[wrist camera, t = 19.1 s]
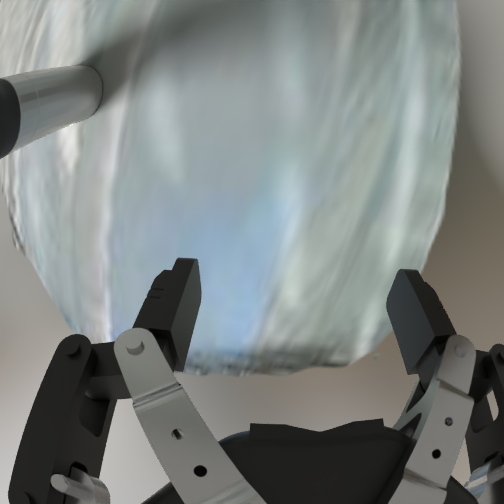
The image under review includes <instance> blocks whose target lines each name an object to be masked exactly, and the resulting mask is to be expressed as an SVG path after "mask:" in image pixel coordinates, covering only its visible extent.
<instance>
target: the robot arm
mask: <svg viewBox="0 0 504 504" xmlns="http://www.w3.org/2000/svg"><path fill="white" fill-rule="evenodd" d="M101 98H102V81H101V79H100V76H99V74H98V73H97V71H95V70H94V69H93V68H92V67H90V66H86V65H79V66H67V67H58V68H50V69H43V70H37V71H31V72H26V73H21V74H16V75H12V76H8V77H3V78H0V159H1V158H3V157H5V156H6V155H8V154H10V153H12V152H14V151H15V150H17V149H19V148H21V147H23V146H25V145H27V144H29V143H31V142H33V141H35V140H37V139H39V138H42V137H44V136H46V135H48V134H50V133H53V132H55V131H57V130H60V129H62V128H65V127H67V126H70V125H72V124H75V123H77V122H80V121H82V120H85V119H87V118H89V117H90V116H91V115H92V114H93V113H94V112H95V111H96V109H97V108H98V106H99V104H100V101H101ZM200 303H201V282H200V273H199V265H198V260H197V259H193V258H177V260H176V262H175V264H174V266H173V269H172V270H163V271H162V272H161V273H160V274H159V275H158V276H157V277H156V278H155V279H154V281H153V284H152V286H151V289H150V290H149V292H148V294H147V298H146V299H145V301H144V303H143V305H142V307H141V310H140V312H139V314H138V316H137V318H136V321H135V323H134V325H133V327H132V329H129V330H126V331H124V332H123V333H121V334H120V335H119V336H118V337H117V339H116V341H114V342H108V343H98V344H91V342H90V340H89V339H88V338H87V337H86V336H84V335H81V334H74V335H70V336H68V337H66V338H65V339H63V340H62V341H61V343H60V344H59V345H58V347H57V349H56V351H55V354H54V356H53V358H52V360H51V362H50V364H49V367H48V369H47V371H46V374H45V376H44V378H43V381H42V383H41V385H40V388H39V391H38V393H37V396H36V398H35V401H34V403H33V406H32V409H31V412H30V414H29V417H28V420H27V424H26V426H25V429H24V432H23V435H22V439H21V442H20V445H19V449H18V452H17V456H16V460H15V464H14V468H13V472H12V476H11V481H10V485H9V491H8V499H9V503H10V504H110V494H109V491H108V489H107V487H106V486H105V484H104V483H103V482H102V481H101V480H99V476H100V471H101V466H102V461H103V456H104V451H105V447H106V442H107V438H108V434H109V429H110V425H111V421H112V417H113V413H114V410H115V406H116V402H117V399H128V398H132V399H133V408H134V410H135V413H136V415H137V417H138V420H139V422H140V424H141V426H142V428H143V430H144V432H145V434H146V437H147V438H148V441H149V443H150V444H151V447H152V448H153V450H154V452H155V454H156V456H157V458H158V459H159V461H160V463H161V465H162V467H163V469H164V471H165V472H166V474H167V475H168V477H169V479H170V482H169V483H168V484H166V485H165V486H164V487H163V488H161V489H160V490H159V491H158V492H156V493H155V494H154V495H152V496H151V497H150V498H148V499H147V500H146V501H144V502H143V503H141V504H504V345H502V344H495V345H494V346H493V347H492V348H491V349H490V351H489V352H484V351H480V350H475V347H474V345H473V344H472V342H471V341H470V340H469V339H468V338H466V337H464V336H462V335H457V334H456V331H455V329H454V327H453V325H452V323H451V321H450V319H449V317H448V315H447V313H446V311H445V309H443V305H442V303H441V301H439V298H438V296H437V294H436V292H435V290H434V289H433V288H432V287H431V286H430V285H429V284H428V283H427V282H424V281H423V279H422V277H421V275H420V273H419V272H418V271H417V270H413V269H400V270H399V271H398V272H397V275H396V277H395V280H394V282H393V285H392V287H391V290H390V292H389V295H388V297H387V302H386V308H387V312H388V315H389V318H390V321H391V324H392V327H393V330H394V332H395V335H396V338H397V341H398V345H399V348H400V351H401V354H402V357H403V360H404V363H405V367H406V371H407V374H408V375H410V374H419V379H418V380H417V381H416V383H415V385H414V388H413V390H412V393H411V395H410V397H409V399H408V401H407V403H406V406H405V408H404V410H403V412H402V414H401V416H400V418H399V419H398V421H397V422H396V424H395V425H394V426H393V427H392V428H389V427H385V426H384V423H383V418H382V419H374V420H365V421H355V422H351V423H348V424H345V425H342V426H339V427H336V428H333V429H329V430H326V431H322V432H317V431H312V430H308V429H303V428H298V427H293V426H289V425H285V424H282V425H281V424H255V423H251V424H250V431H245V432H240V433H236V434H233V435H231V436H228V437H226V438H224V439H222V440H220V441H218V442H217V440H216V439H215V437H214V436H213V434H212V433H211V431H210V430H209V428H208V427H207V425H206V424H205V422H204V421H203V419H202V418H201V416H200V414H199V413H198V411H197V409H196V408H195V406H194V405H193V403H192V401H191V400H190V398H189V396H188V395H187V393H186V392H185V390H184V388H183V387H182V385H181V384H179V383H178V381H177V379H176V377H175V376H174V374H173V373H174V371H181V372H183V370H184V366H185V362H186V358H187V354H188V350H189V346H190V342H191V338H192V334H193V330H194V326H195V322H196V319H197V315H198V311H199V307H200ZM492 390H493V392H494V395H495V398H496V402H497V405H498V410H499V412H498V416H497V418H496V420H495V421H493V418H492V414H491V411H490V407H489V403H488V400H487V395H488V394H489V393H490V392H491V391H492ZM464 437H465V439H466V444H467V451H468V456H469V463H470V471H471V476H470V479H469V481H468V482H466V483H465V485H464V487H463V486H462V485H461V484H460V483H459V482H458V481H457V480H455V478H453V477H452V476H451V473H452V470H453V468H454V465H455V463H456V460H457V457H458V455H459V452H460V449H461V446H462V443H463V440H464Z"/></svg>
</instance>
